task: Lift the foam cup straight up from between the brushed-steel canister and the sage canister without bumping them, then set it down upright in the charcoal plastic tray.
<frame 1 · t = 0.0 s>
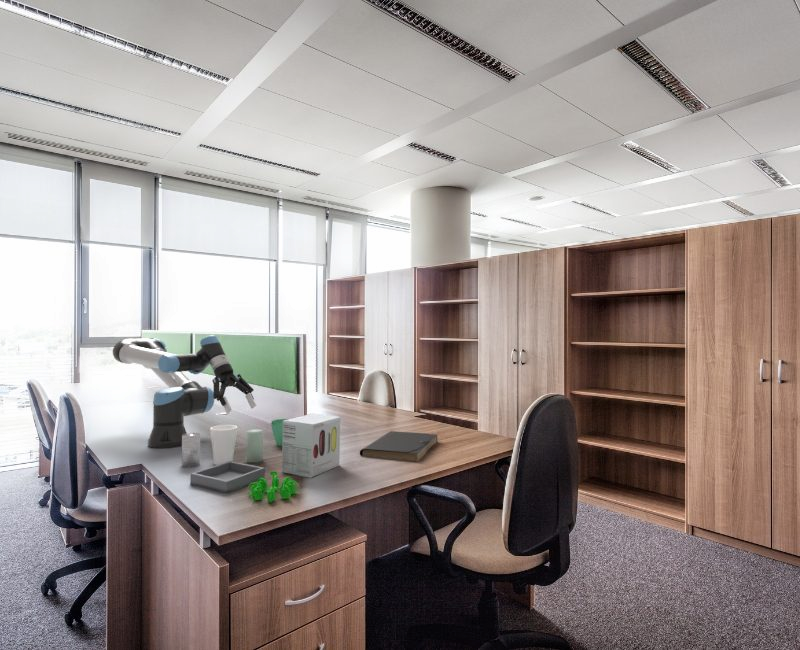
hand: (242, 409, 195), 15 cm above the table, tool tilted 35°, fingers open, 13 cm apart
sage canister: (254, 460, 173), on the table
dark grey book: (401, 450, 193), on the table
green piece: (273, 496, 137), on the table
mug: (287, 445, 196), on the table
foam cup: (223, 463, 169), on the table
tray: (228, 481, 149), on the table
supplement box: (311, 469, 163), on the table
steel canister: (190, 465, 166), on the table
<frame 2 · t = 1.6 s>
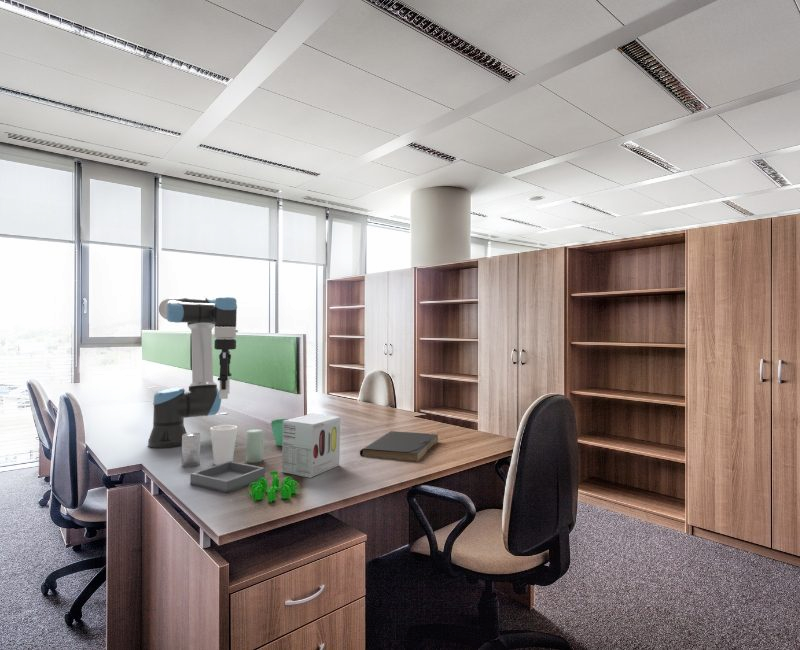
hand: (224, 396, 170), 25 cm above the table, tool pointing down, fingers open, 13 cm apart
nothing on the table moved.
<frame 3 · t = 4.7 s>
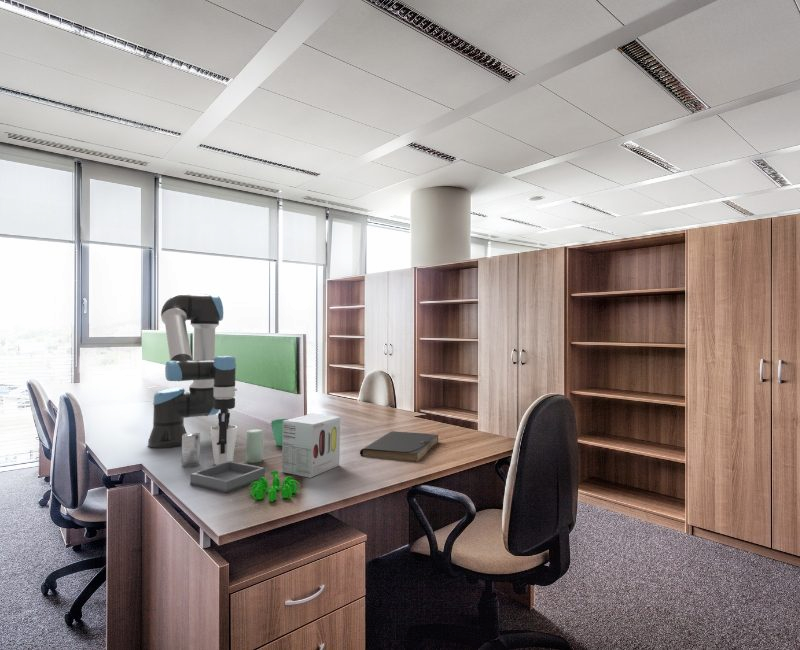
hand: (223, 458, 169), 2 cm above the table, tool pointing down, fingers closed on foam cup, 9 cm apart
foam cup: (223, 463, 169), on the table, touching gripper
everything else where it was.
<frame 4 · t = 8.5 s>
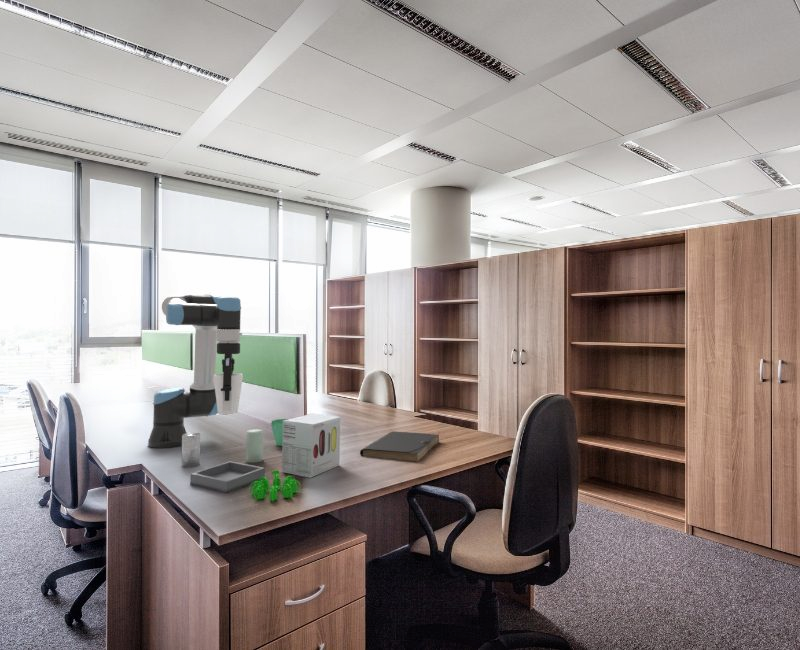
hand: (227, 408, 156), 23 cm above the table, tool pointing down, fingers closed on foam cup, 9 cm apart
foam cup: (227, 413, 156), point 21 cm above the table, touching gripper
everything else where it was.
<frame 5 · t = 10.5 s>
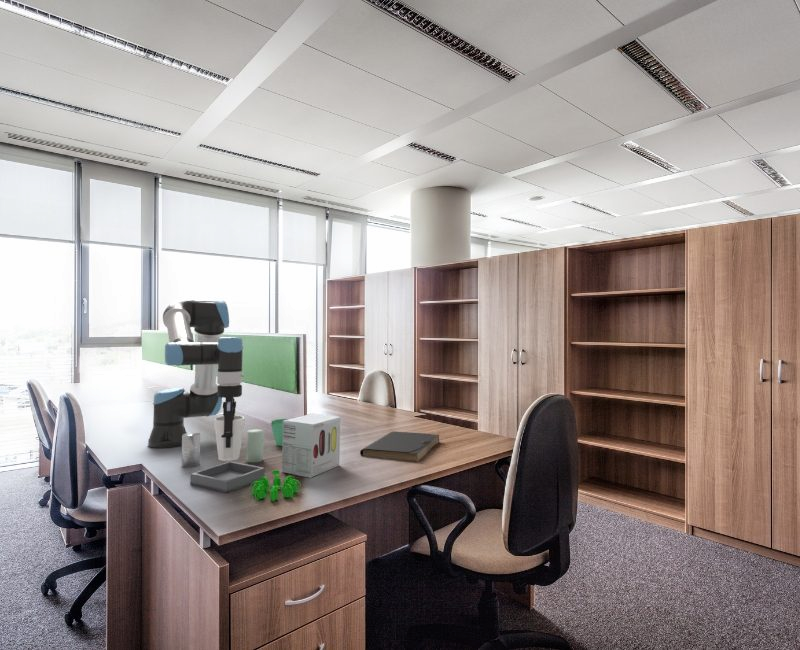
hand: (228, 453, 149), 9 cm above the table, tool pointing down, fingers closed on foam cup, 9 cm apart
foam cup: (228, 458, 149), point 7 cm above the table, touching gripper
when the fingers open (5 cm above the table, at t = 12.3 s): foam cup drops 3 cm, resting on tray.
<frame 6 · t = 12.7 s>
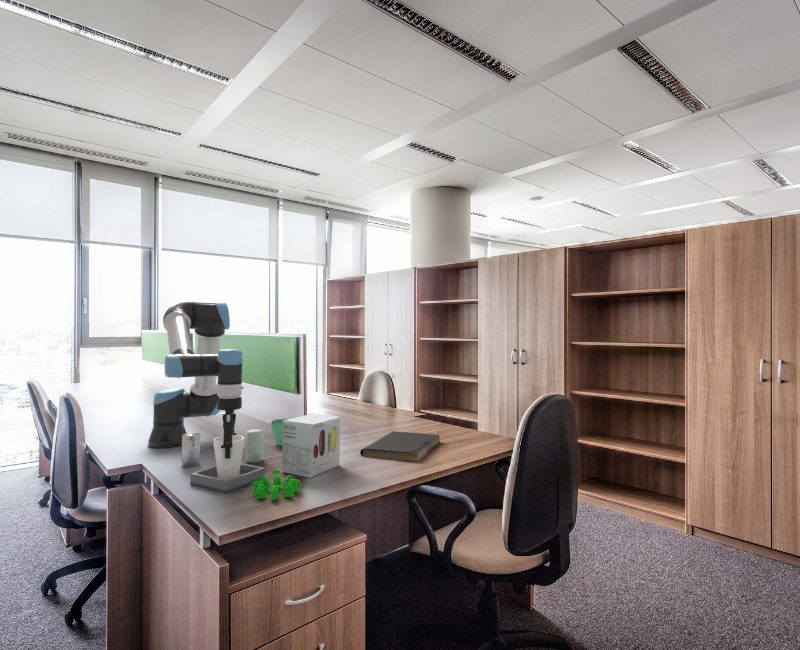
hand: (228, 462, 149), 6 cm above the table, tool pointing down, fingers open, 13 cm apart
foam cup: (228, 479, 149), point 1 cm above the table, touching tray
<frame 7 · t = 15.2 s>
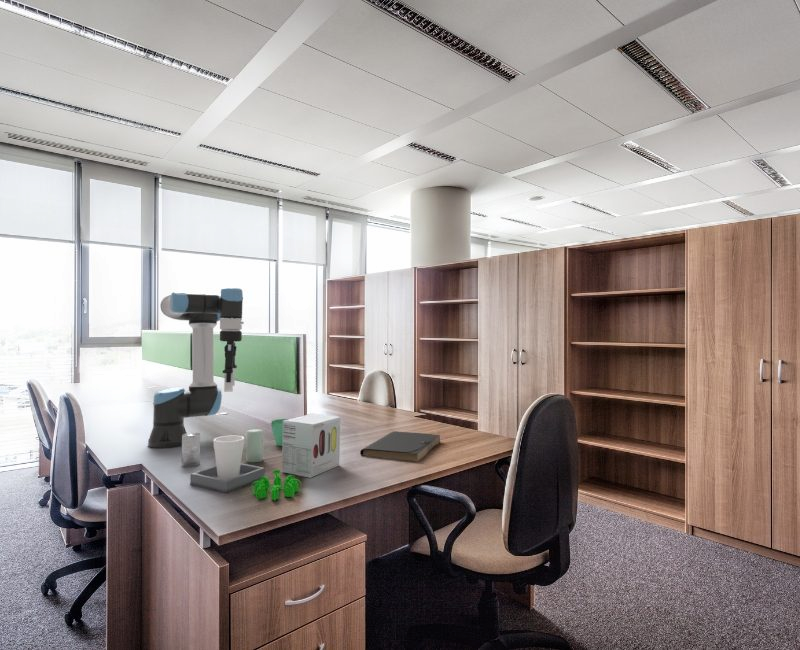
hand: (229, 388, 167), 28 cm above the table, tool pointing down, fingers open, 13 cm apart
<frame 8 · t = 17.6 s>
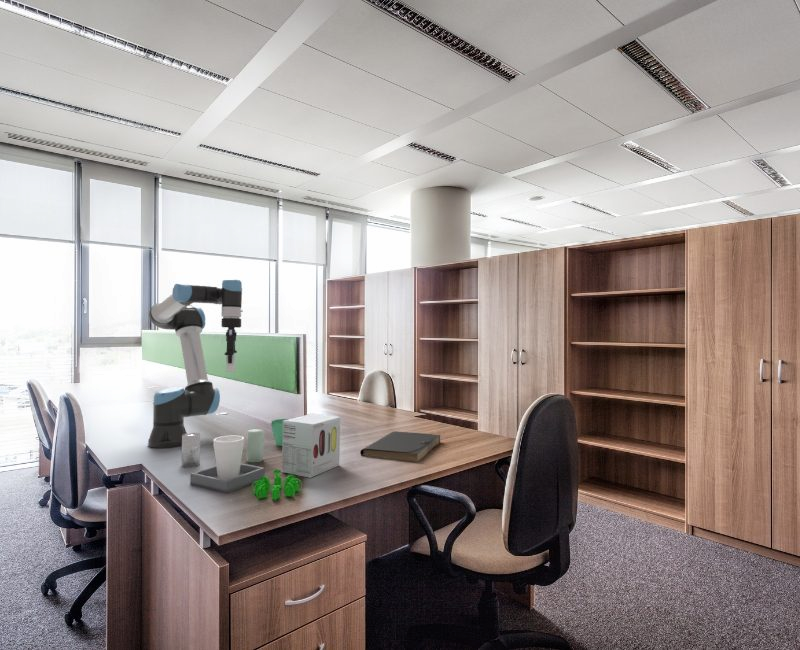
hand: (230, 370, 185), 33 cm above the table, tool pointing down, fingers open, 13 cm apart
at the end: foam cup inside the target area on the tray (0.3 cm from its centre), point 0.6 cm above the tray's base; steel canister moved 0.0 cm from its start; sage canister moved 0.0 cm from its start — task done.
